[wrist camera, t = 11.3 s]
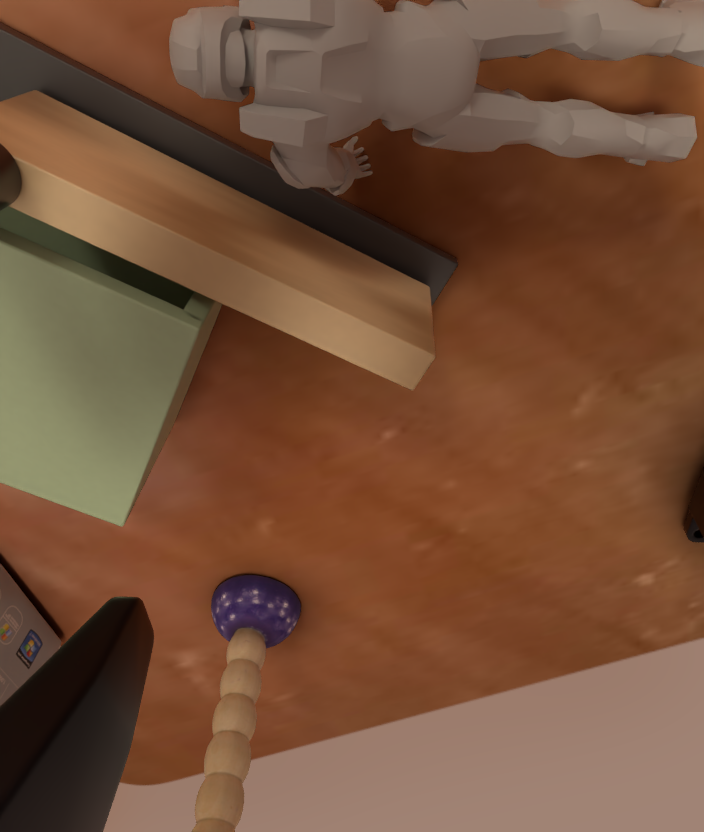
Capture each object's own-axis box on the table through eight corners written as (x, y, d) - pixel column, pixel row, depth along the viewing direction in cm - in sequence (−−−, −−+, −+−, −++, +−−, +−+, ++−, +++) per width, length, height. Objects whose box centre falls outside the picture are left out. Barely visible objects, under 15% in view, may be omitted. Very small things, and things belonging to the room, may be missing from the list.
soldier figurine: (630, -78, 16) (143, -157, 13) (804, -79, 12) (159, -198, 9) (558, 174, 20) (167, 167, 16) (673, 238, 16) (186, 246, 12)
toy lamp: (309, 575, 28) (228, 1125, 15) (315, 637, 31) (251, 1149, 18) (206, 572, 29) (35, 1108, 15) (221, 633, 32) (88, 1134, 18)
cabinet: (457, 258, 19) (474, 346, 15) (317, 480, 25) (299, 592, 21) (-257, -111, 15) (-534, -143, 11) (-228, 259, 21) (-399, 339, 16)
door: (433, 280, 19) (459, 526, 11) (407, 322, 20) (412, 579, 12) (36, 80, 16) (-334, 200, 8) (26, 139, 17) (-316, 300, 9)
